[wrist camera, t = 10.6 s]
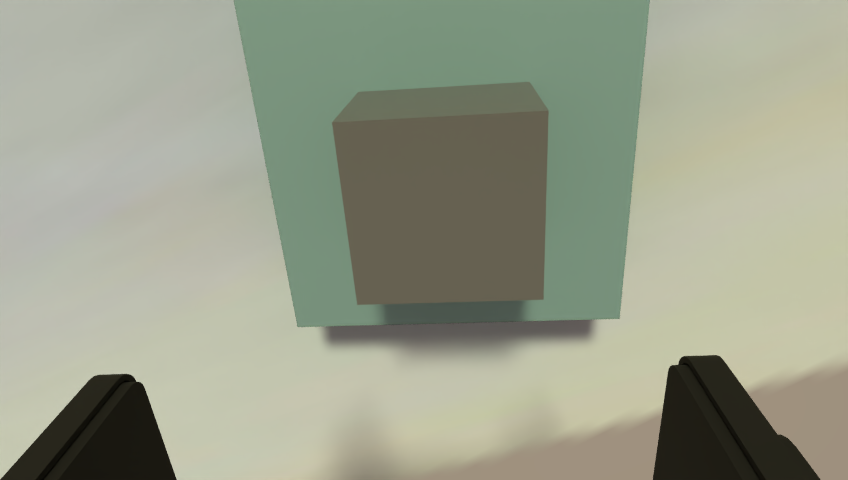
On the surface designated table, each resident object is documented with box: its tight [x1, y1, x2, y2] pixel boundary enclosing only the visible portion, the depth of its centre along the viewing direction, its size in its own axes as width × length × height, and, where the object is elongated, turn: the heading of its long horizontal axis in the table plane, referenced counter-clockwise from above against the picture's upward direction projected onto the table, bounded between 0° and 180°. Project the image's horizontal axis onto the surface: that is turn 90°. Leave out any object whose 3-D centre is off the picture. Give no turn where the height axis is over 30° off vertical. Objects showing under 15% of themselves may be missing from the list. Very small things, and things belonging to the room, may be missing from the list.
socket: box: [234, 0, 650, 327], centre depth 25 cm, size 15×15×4 cm
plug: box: [332, 82, 549, 305], centre depth 22 cm, size 7×7×9 cm
